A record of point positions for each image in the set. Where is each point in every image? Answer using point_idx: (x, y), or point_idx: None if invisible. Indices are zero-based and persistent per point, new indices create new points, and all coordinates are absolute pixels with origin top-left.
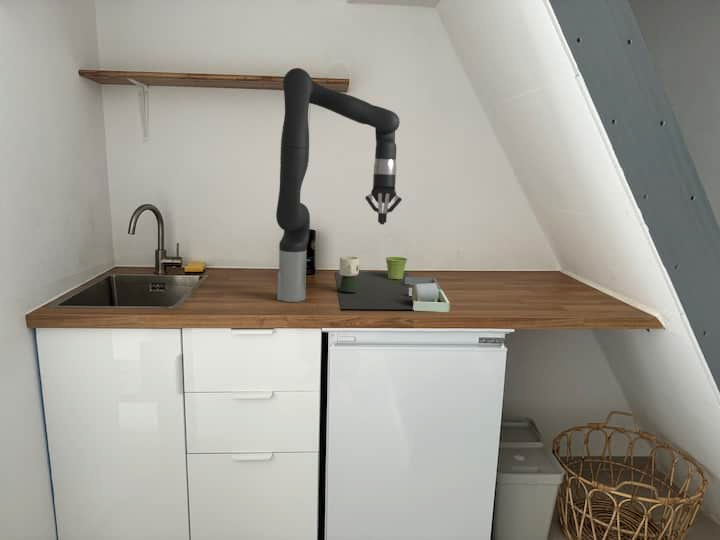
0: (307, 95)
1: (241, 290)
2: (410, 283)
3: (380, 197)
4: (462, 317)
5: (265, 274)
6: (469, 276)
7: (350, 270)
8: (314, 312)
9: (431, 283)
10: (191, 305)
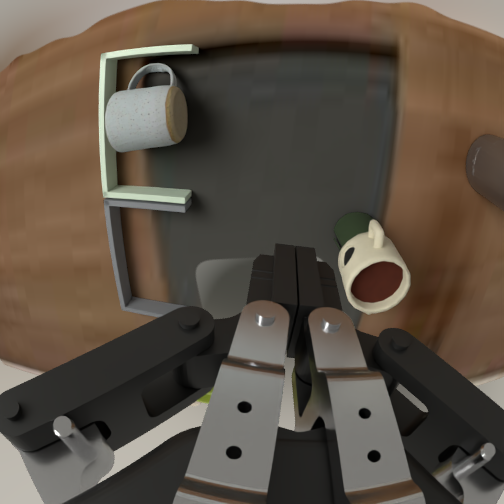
0: None
1: None
2: (179, 307)
3: (382, 501)
4: (95, 23)
5: (466, 354)
6: (79, 355)
7: (378, 223)
8: (454, 43)
9: (116, 124)
10: None
